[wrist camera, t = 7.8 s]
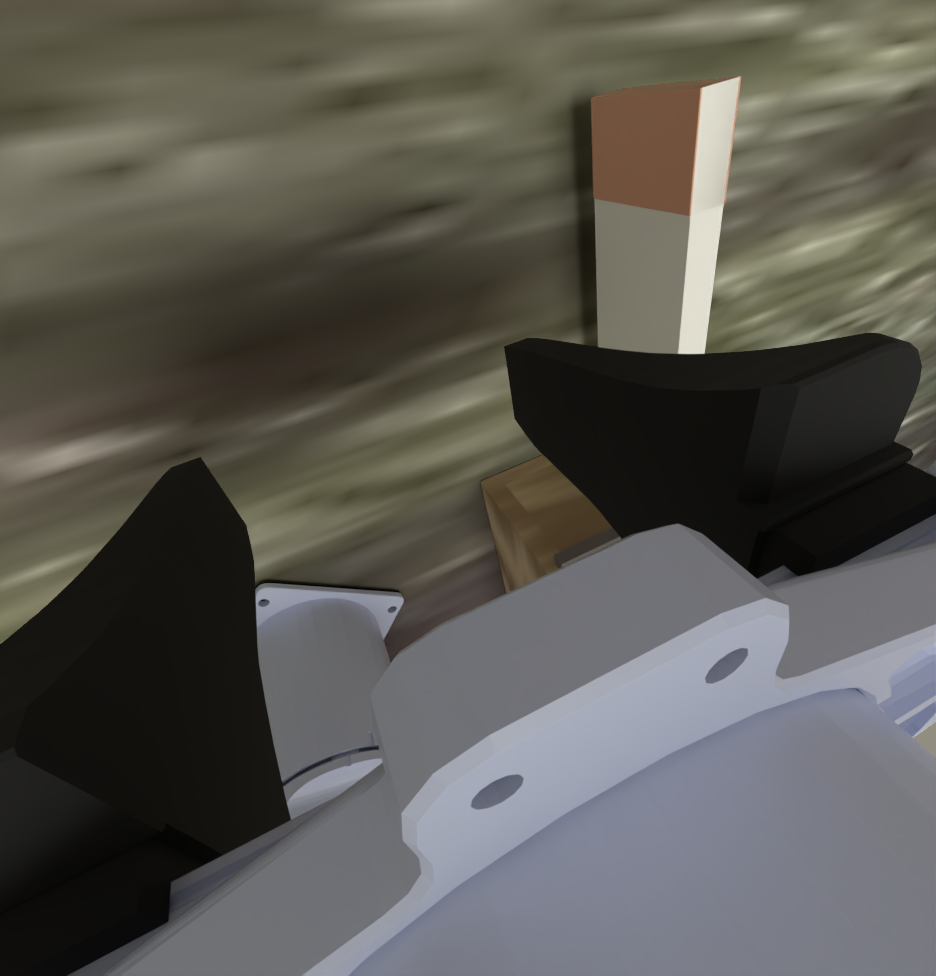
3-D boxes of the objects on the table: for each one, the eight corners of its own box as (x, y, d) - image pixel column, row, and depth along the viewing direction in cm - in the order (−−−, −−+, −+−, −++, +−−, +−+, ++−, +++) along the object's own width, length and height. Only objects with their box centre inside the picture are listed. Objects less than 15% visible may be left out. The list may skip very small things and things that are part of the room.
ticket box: (677, 549, 37) (765, 629, 31) (514, 629, 35) (575, 732, 29) (699, 379, 28) (829, 447, 22) (478, 472, 26) (556, 577, 20)
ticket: (620, 497, 29) (679, 552, 25) (601, 506, 29) (658, 563, 25) (623, 88, 17) (741, 76, 13) (591, 97, 16) (700, 87, 13)
